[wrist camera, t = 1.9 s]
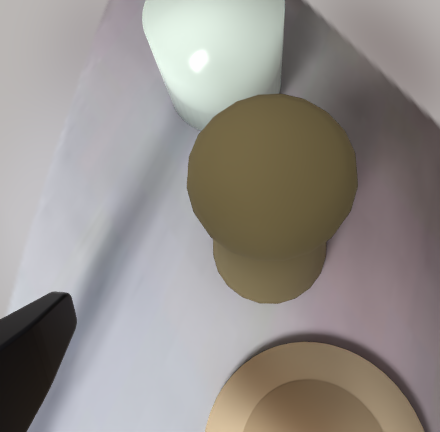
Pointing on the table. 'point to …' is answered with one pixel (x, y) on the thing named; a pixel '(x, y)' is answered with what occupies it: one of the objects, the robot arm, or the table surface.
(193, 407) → the table surface
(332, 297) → the table surface
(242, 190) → the pepper shaker
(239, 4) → the pale mint rounded cylinder
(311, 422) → the trivet
